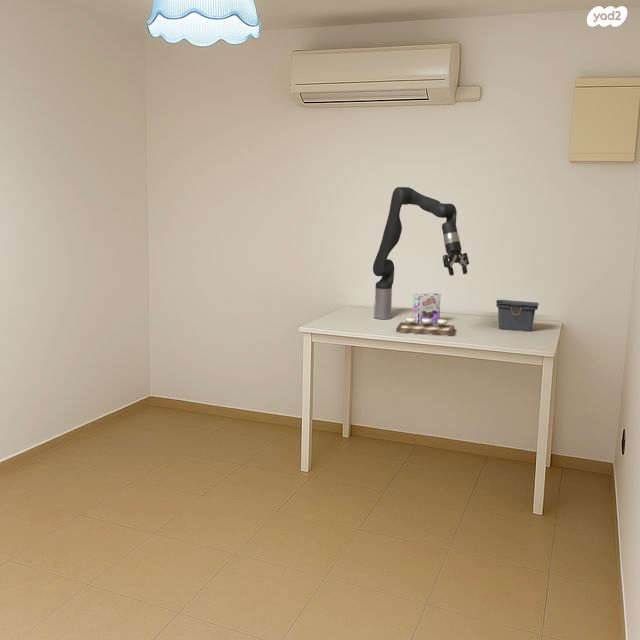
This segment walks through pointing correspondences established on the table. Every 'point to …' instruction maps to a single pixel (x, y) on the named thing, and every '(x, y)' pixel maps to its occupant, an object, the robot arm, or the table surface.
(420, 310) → the candy box
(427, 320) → the middle button
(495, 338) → the table surface
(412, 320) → the left button
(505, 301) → the storage bin
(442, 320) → the right button
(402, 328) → the button board
